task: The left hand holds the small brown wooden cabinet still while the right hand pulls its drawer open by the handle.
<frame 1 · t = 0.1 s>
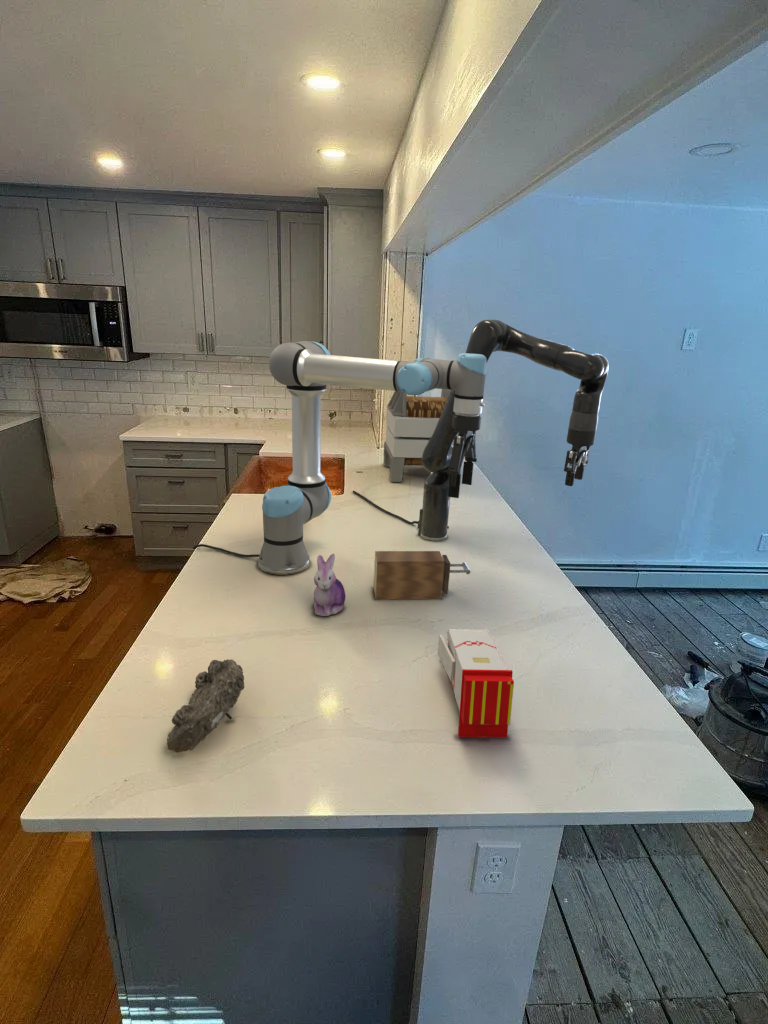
left hand: (460, 490, 157), 28 cm above the counter, tool pointing down, fingers open, 13 cm apart
right hand: (573, 482, 165), 29 cm above the counter, tool pointing down, fingers open, 8 cm apart
fossil: (212, 717, 108), on the counter
figurine: (328, 608, 149), on the counter
toy: (469, 691, 119), on the counter
drawer: (427, 574, 157), point 6 cm above the counter, slide at 0.7 cm
cabinet: (406, 593, 159), on the counter
grey crate with legs: (419, 473, 275), on the counter
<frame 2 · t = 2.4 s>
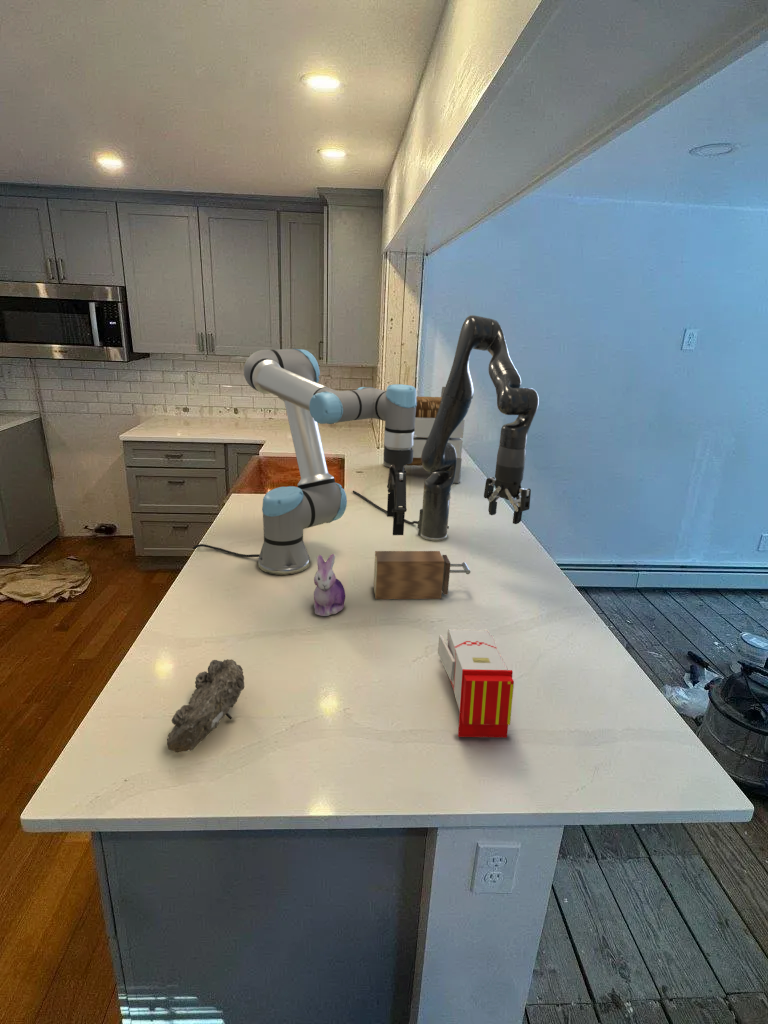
left hand: (394, 525, 151), 20 cm above the counter, tool pointing down, fingers open, 13 cm apart
right hand: (503, 518, 159), 21 cm above the counter, tool pointing down, fingers open, 8 cm apart
nothing on the counter moved.
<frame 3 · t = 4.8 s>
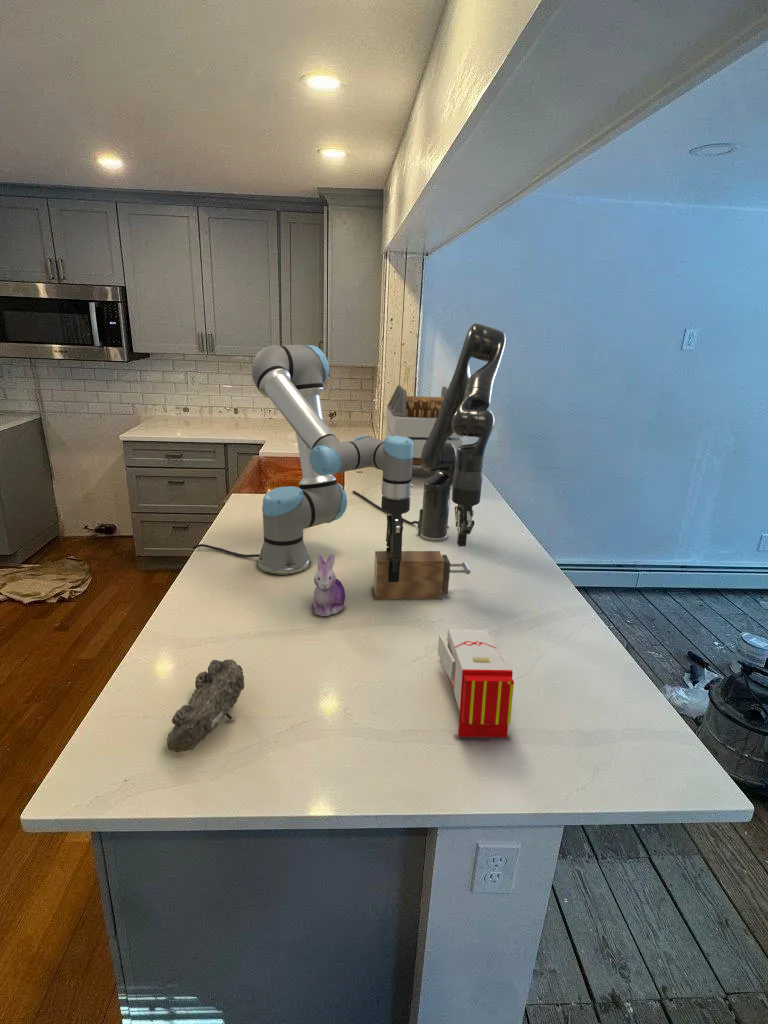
left hand: (391, 575, 156), 6 cm above the counter, tool pointing down, fingers closed on cabinet, 7 cm apart
right hand: (461, 545, 155), 15 cm above the counter, tool pointing down, fingers closed
cabinet: (406, 593, 159), on the counter, touching left hand
everything else where it was.
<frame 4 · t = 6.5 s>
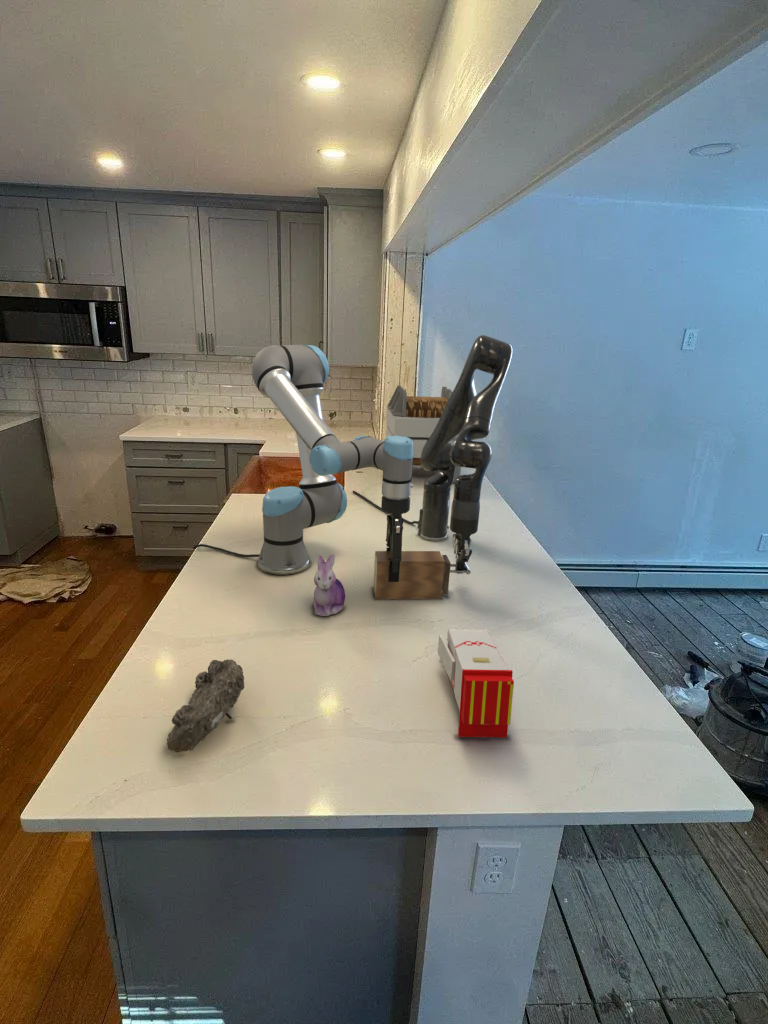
left hand: (392, 575, 156), 6 cm above the counter, tool pointing down, fingers closed on cabinet, 7 cm apart
right hand: (459, 572, 158), 6 cm above the counter, tool pointing down, fingers closed
drawer: (427, 574, 157), point 6 cm above the counter, slide at 0.7 cm, touching right hand
cabinet: (406, 593, 159), on the counter, touching left hand
everything else where it was.
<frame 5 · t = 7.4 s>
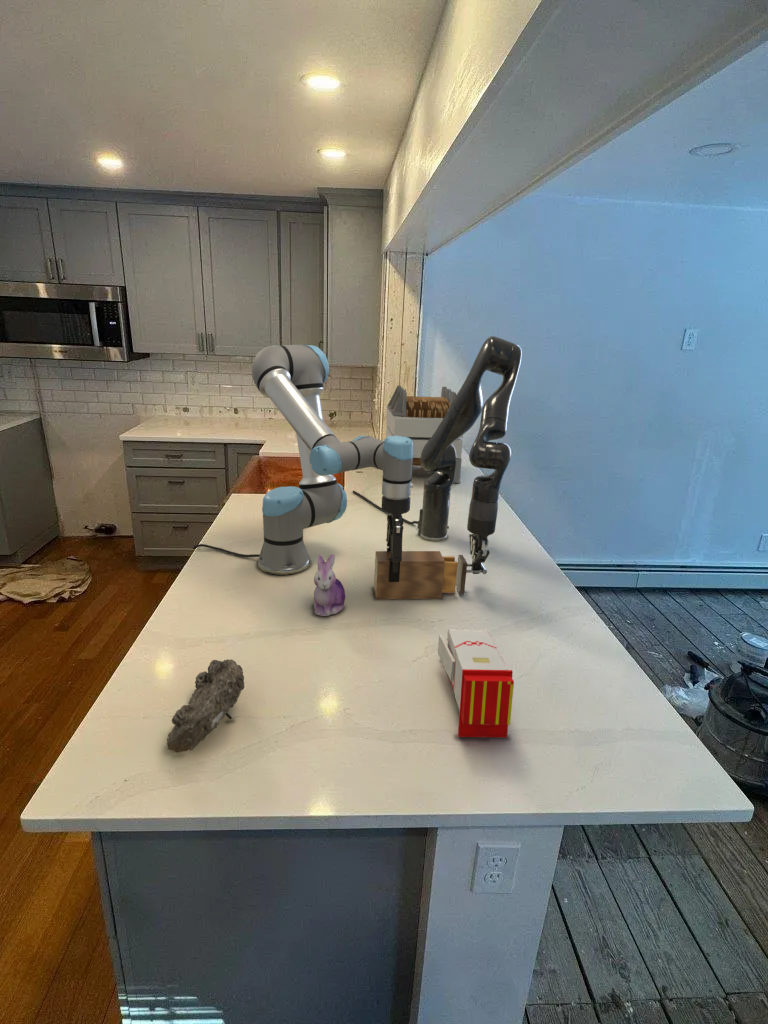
left hand: (392, 575, 156), 6 cm above the counter, tool pointing down, fingers closed on cabinet, 7 cm apart
right hand: (475, 572, 159), 6 cm above the counter, tool pointing down, fingers closed
drawer: (443, 574, 158), point 6 cm above the counter, slide at 5.2 cm, touching right hand
cabinet: (407, 593, 159), on the counter, touching left hand
everything else where it was.
when the left hand's fingers open (6 cm above the counter, at t = 9.0 s): cabinet stays where it is, on the counter.
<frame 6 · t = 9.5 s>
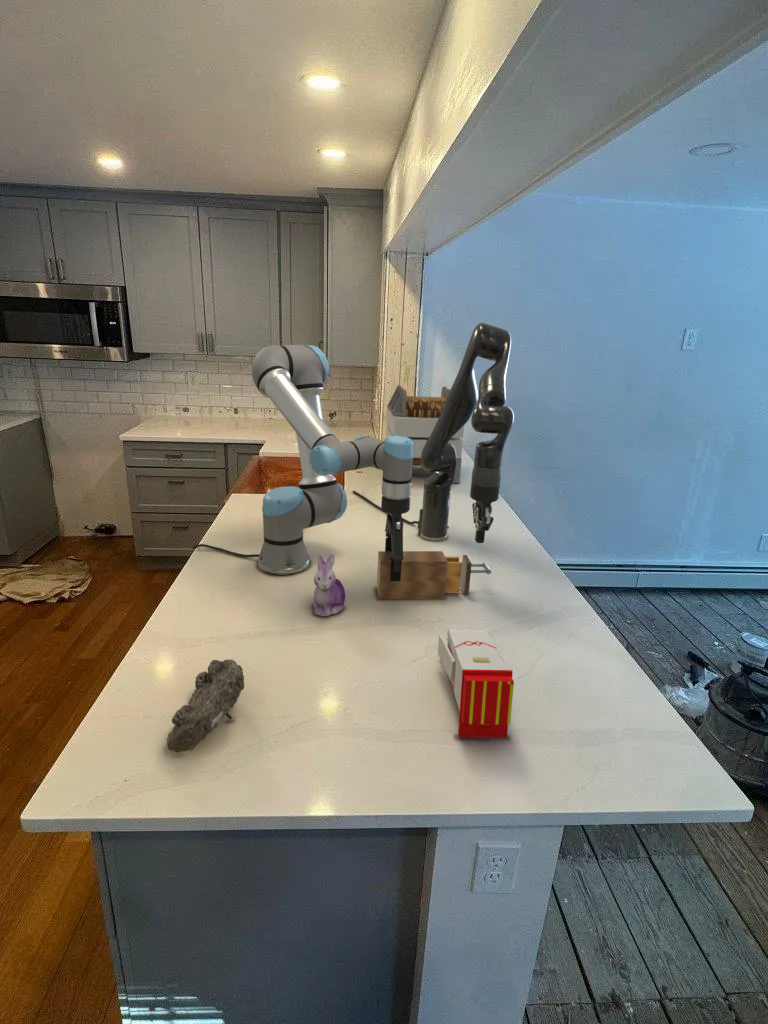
left hand: (392, 569, 156), 7 cm above the counter, tool pointing down, fingers open, 13 cm apart
right hand: (479, 542, 155), 16 cm above the counter, tool pointing down, fingers closed
drawer: (448, 574, 158), point 6 cm above the counter, slide at 5.7 cm
cabinet: (409, 593, 159), on the counter
everything else where it was.
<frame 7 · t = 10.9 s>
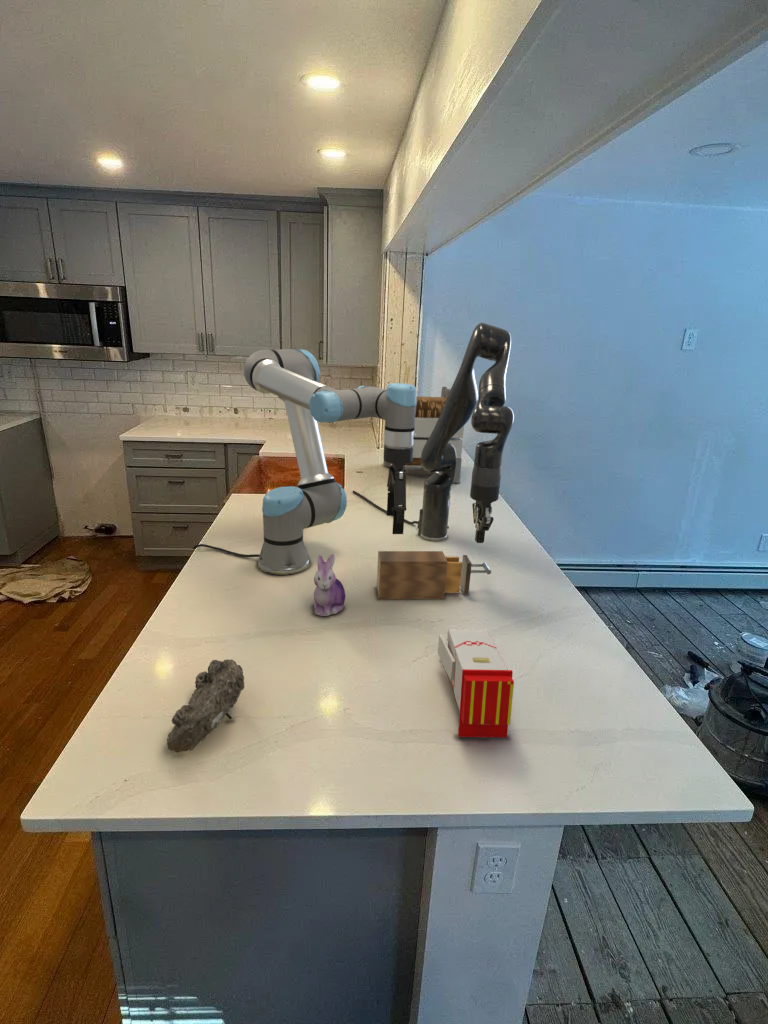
left hand: (394, 524, 151), 21 cm above the counter, tool pointing down, fingers open, 13 cm apart
right hand: (479, 542, 155), 16 cm above the counter, tool pointing down, fingers closed
nothing on the counter moved.
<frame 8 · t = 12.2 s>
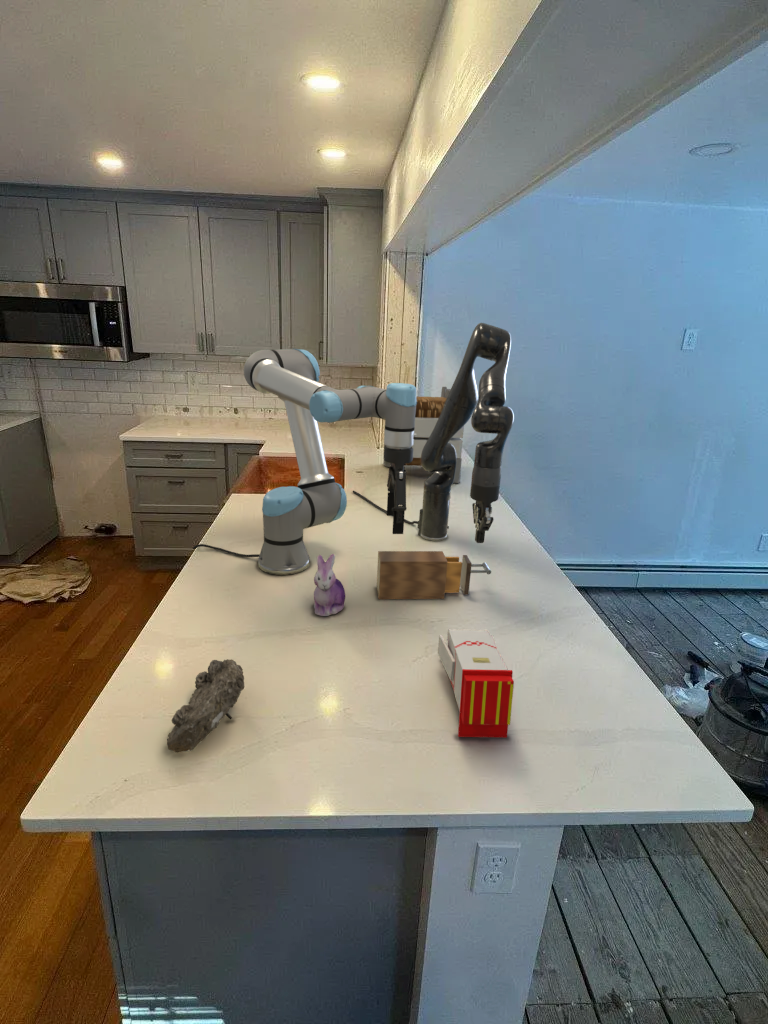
left hand: (394, 524, 151), 21 cm above the counter, tool pointing down, fingers open, 13 cm apart
right hand: (479, 542, 155), 16 cm above the counter, tool pointing down, fingers closed
nothing on the counter moved.
at the end: drawer slide at 5.7 cm; cabinet tilted 0°; cabinet never tilted more than 5° during the clip; cabinet moved 0.8 cm from its start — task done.
